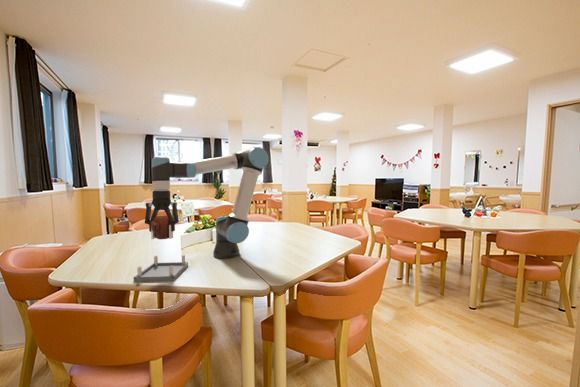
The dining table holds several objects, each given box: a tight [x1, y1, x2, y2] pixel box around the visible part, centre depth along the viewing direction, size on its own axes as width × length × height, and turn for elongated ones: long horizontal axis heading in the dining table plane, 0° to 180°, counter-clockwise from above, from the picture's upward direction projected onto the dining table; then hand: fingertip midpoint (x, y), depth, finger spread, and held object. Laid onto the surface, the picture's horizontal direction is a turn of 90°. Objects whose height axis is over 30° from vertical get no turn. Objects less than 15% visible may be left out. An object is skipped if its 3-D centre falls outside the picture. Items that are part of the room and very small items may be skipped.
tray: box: [133, 254, 189, 283], centre depth 125 cm, size 17×20×6 cm
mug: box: [151, 215, 174, 240], centre depth 124 cm, size 12×9×10 cm
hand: (162, 238), depth 124 cm, fingers closed on mug, 7 cm apart
